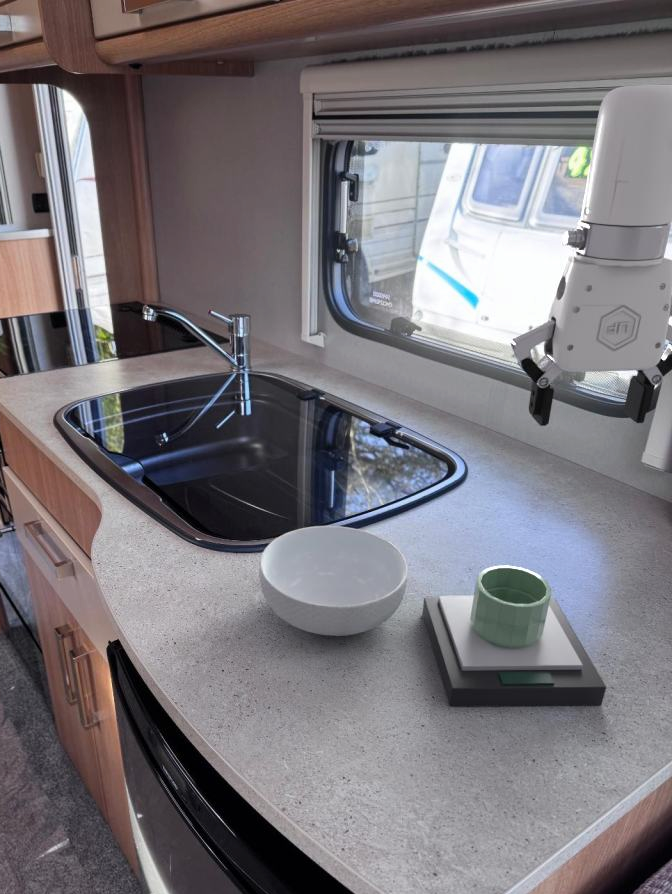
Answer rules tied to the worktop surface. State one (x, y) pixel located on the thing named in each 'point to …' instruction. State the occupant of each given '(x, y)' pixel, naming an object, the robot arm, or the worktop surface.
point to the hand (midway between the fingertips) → (586, 419)
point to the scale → (509, 661)
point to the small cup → (510, 606)
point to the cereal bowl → (333, 579)
